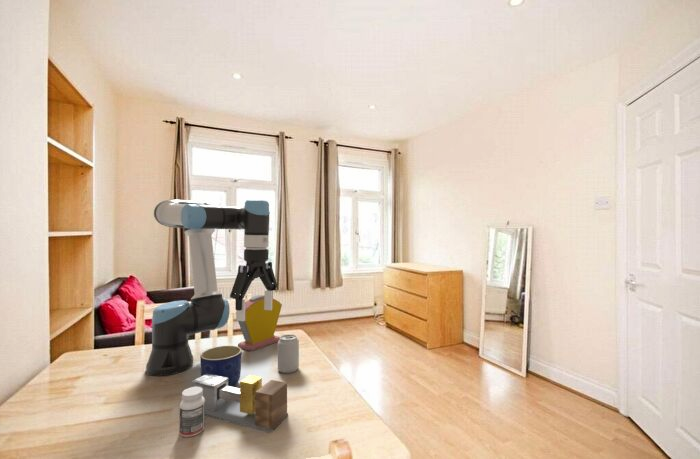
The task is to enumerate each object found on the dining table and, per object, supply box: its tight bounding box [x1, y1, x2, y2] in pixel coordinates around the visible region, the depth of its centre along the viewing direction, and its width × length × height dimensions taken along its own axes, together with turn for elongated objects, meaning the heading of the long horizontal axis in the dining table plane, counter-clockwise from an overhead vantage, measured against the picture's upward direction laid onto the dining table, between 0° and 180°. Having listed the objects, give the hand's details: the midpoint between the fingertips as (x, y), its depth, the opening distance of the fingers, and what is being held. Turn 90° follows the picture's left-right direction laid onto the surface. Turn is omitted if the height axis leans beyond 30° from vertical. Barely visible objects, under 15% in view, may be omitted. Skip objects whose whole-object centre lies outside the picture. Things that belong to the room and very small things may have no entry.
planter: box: [199, 345, 243, 387], centre depth 102 cm, size 12×12×11 cm
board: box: [205, 400, 289, 434], centre depth 87 cm, size 27×8×1 cm, turn 70°
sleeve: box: [191, 374, 228, 412], centre depth 90 cm, size 8×5×8 cm
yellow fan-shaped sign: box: [237, 294, 283, 352], centre depth 141 cm, size 22×9×22 cm, turn 145°
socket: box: [255, 379, 288, 432], centre depth 83 cm, size 5×7×9 cm
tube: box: [217, 374, 263, 415], centre depth 86 cm, size 22×4×8 cm, turn 70°
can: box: [277, 333, 300, 374], centre depth 114 cm, size 8×8×12 cm
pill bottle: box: [179, 386, 206, 438], centre depth 79 cm, size 6×6×10 cm
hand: (255, 314), depth 101 cm, fingers open, 13 cm apart
